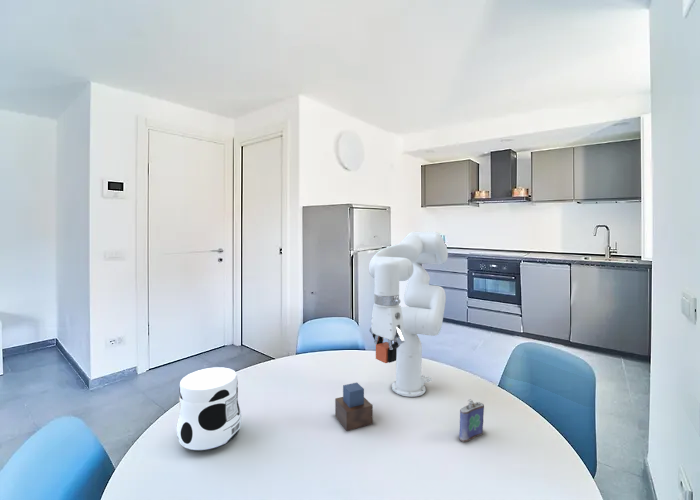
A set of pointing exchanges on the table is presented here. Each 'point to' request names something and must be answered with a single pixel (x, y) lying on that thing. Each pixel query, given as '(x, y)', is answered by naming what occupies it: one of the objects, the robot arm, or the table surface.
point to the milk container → (208, 409)
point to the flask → (471, 421)
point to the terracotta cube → (382, 352)
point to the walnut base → (353, 414)
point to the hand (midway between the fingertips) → (385, 358)
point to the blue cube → (353, 395)
